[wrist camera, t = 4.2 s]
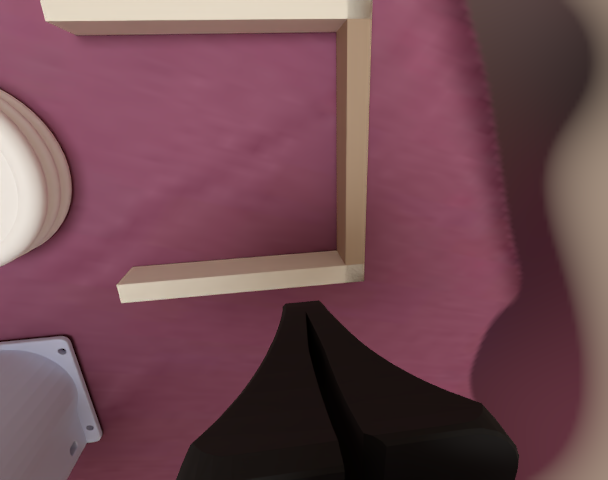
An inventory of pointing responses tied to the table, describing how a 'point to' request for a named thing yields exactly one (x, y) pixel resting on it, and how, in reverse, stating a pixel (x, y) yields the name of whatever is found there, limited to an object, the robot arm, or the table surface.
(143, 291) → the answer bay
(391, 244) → the table surface
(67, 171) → the coaster
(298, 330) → the robot arm
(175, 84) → the table surface
